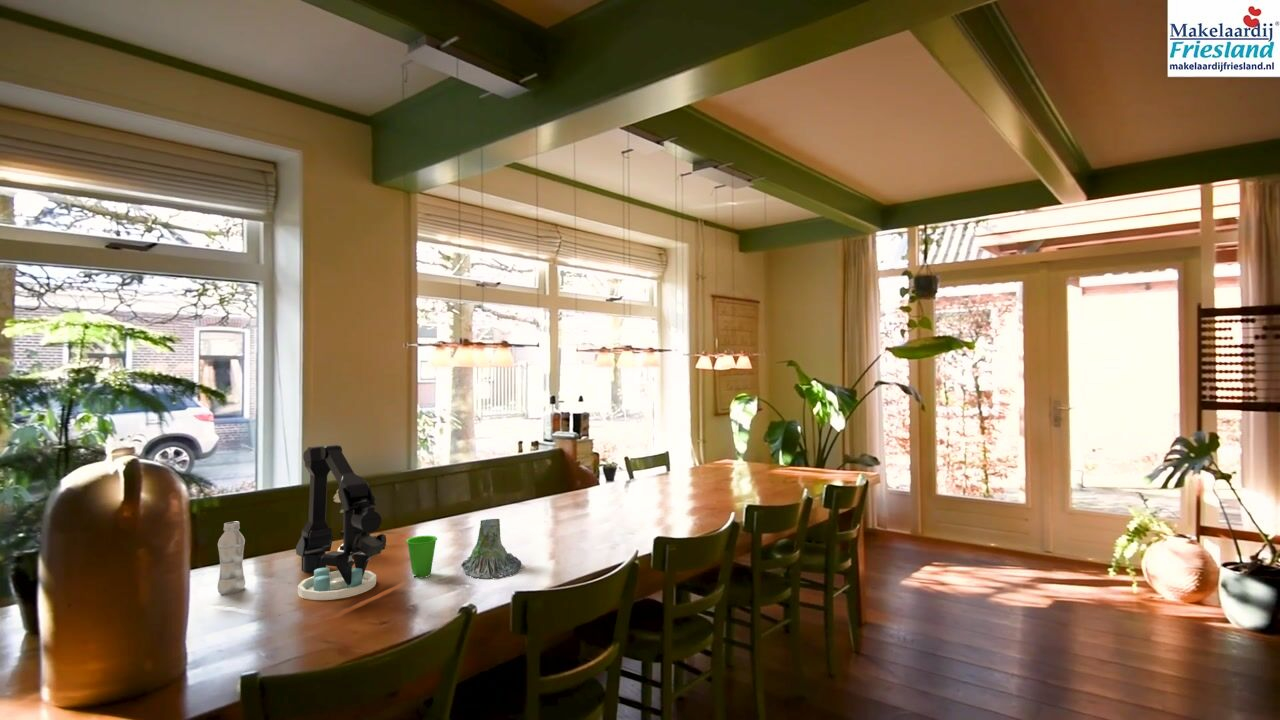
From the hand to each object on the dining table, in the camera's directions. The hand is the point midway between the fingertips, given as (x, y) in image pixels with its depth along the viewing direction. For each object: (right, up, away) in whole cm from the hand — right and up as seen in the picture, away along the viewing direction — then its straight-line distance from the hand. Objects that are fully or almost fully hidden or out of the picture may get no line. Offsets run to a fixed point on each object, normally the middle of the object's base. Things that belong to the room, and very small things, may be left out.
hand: (354, 582), depth 180 cm
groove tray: (-6, -3, +2) cm, 7 cm away
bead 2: (0, -1, 0) cm, 1 cm away
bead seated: (-11, -2, +4) cm, 12 cm away
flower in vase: (-18, -4, +38) cm, 42 cm away
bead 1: (-7, -2, -4) cm, 9 cm away
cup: (+14, -3, +15) cm, 21 cm away
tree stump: (+34, -4, +21) cm, 40 cm away
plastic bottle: (-35, -3, 0) cm, 35 cm away
